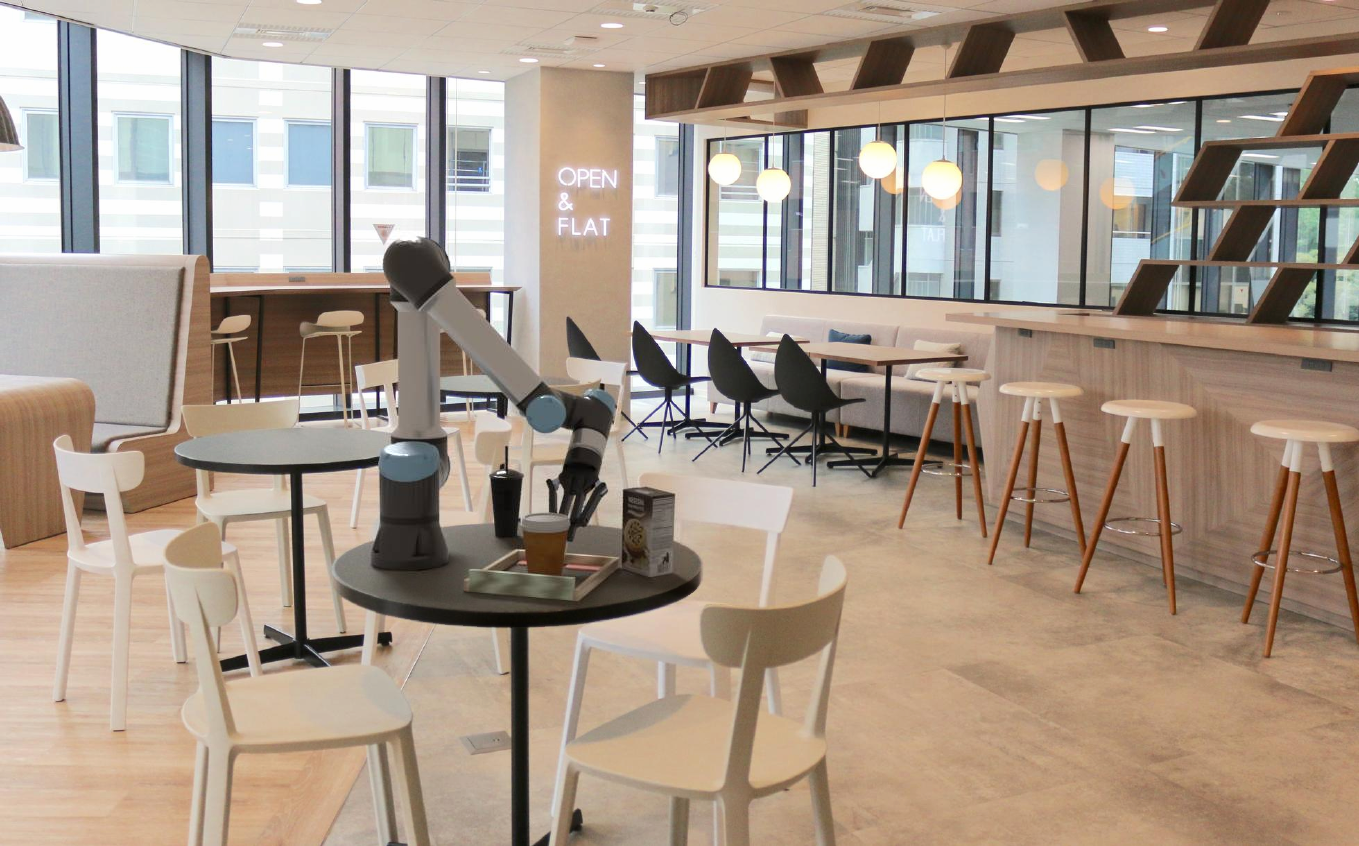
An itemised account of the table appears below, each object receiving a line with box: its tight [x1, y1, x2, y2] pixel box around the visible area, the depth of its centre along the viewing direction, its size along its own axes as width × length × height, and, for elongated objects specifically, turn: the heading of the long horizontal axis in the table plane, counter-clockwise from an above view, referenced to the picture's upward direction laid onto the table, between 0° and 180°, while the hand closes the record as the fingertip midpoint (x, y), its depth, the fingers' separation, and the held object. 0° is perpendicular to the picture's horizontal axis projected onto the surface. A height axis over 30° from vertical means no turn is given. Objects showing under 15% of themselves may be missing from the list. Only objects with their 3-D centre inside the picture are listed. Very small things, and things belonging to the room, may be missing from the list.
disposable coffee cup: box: [519, 512, 570, 576], centre depth 225 cm, size 10×10×12 cm
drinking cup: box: [488, 445, 525, 538], centre depth 261 cm, size 8×8×20 cm
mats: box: [516, 559, 603, 572], centre depth 236 cm, size 18×4×1 cm, turn 77°
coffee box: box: [621, 486, 676, 578], centre depth 233 cm, size 9×6×16 cm
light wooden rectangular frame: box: [463, 548, 620, 602], centre depth 226 cm, size 22×26×4 cm
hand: (559, 554), depth 230 cm, fingers closed
